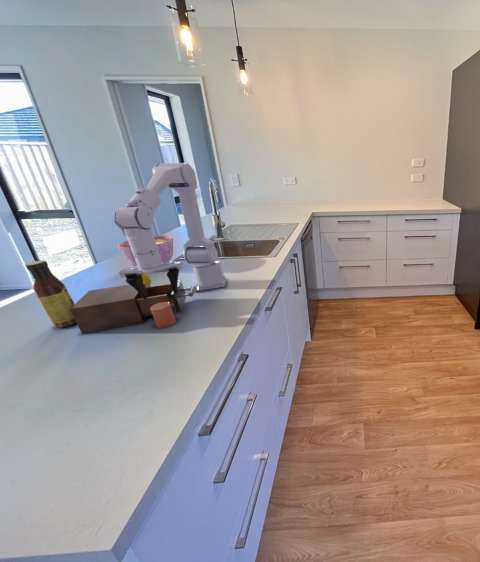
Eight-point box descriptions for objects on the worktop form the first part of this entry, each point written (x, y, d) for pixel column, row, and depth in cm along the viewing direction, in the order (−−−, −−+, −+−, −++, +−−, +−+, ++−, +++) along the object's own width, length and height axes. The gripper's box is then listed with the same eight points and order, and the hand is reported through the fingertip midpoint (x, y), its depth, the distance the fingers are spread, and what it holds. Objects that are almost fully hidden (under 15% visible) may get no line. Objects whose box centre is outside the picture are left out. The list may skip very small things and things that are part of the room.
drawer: (199, 294, 106) (194, 277, 103) (195, 309, 96) (190, 291, 93) (140, 304, 100) (133, 287, 97) (129, 321, 90) (121, 302, 87)
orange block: (177, 317, 93) (171, 300, 91) (174, 325, 89) (168, 307, 87) (158, 321, 92) (152, 303, 89) (154, 329, 87) (147, 311, 85)
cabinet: (153, 304, 102) (145, 282, 98) (143, 322, 91) (133, 298, 88) (99, 313, 97) (89, 290, 93) (82, 334, 86) (69, 309, 83)
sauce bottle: (87, 319, 93) (58, 259, 85) (62, 330, 88) (29, 267, 80) (73, 316, 95) (44, 257, 87) (49, 326, 90) (14, 265, 82)
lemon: (144, 294, 108) (136, 274, 105) (132, 293, 109) (124, 273, 106) (157, 288, 113) (150, 268, 110) (145, 287, 114) (138, 268, 111)
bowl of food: (161, 274, 126) (152, 247, 122) (115, 274, 127) (104, 248, 122) (189, 257, 145) (182, 234, 140) (148, 258, 145) (140, 235, 140)
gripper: (107, 259, 76) (127, 306, 82) (173, 251, 81) (187, 296, 87) (117, 251, 82) (134, 295, 88) (177, 244, 87) (190, 286, 93)
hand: (161, 295), depth 88 cm, fingers open, 7 cm apart
